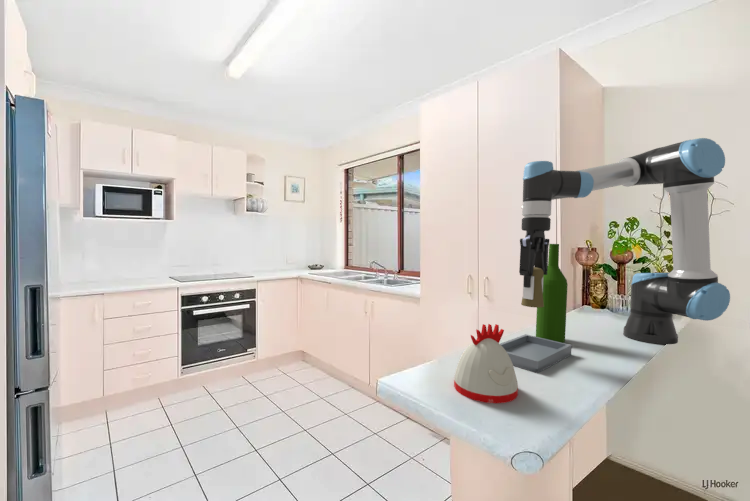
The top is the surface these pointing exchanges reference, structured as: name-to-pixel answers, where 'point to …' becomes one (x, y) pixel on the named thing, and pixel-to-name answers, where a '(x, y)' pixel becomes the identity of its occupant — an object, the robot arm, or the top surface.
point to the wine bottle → (553, 301)
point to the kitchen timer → (486, 369)
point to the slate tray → (535, 352)
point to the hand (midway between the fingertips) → (532, 297)
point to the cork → (536, 290)
